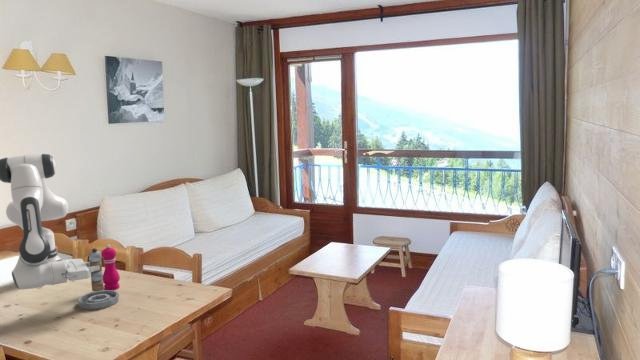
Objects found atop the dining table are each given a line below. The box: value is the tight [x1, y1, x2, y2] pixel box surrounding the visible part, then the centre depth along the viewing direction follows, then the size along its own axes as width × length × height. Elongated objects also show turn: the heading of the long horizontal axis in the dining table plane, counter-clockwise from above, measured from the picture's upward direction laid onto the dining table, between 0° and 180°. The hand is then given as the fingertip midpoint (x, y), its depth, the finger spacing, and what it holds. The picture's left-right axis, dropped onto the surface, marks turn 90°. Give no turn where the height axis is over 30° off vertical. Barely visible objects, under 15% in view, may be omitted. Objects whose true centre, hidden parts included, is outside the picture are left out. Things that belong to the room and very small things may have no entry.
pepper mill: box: [101, 244, 121, 291], centre depth 225 cm, size 7×7×20 cm
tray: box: [77, 289, 120, 311], centre depth 209 cm, size 15×15×3 cm
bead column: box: [88, 247, 105, 292], centre depth 207 cm, size 4×4×17 cm
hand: (98, 265), depth 208 cm, fingers closed on bead column, 4 cm apart
